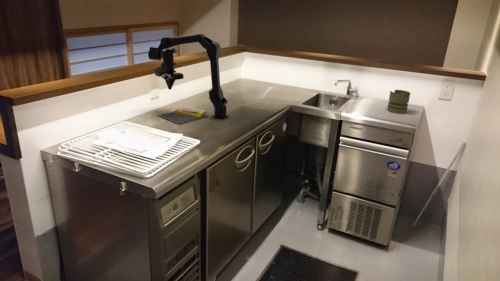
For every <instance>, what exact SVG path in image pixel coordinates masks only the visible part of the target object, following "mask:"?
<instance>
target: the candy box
mask: <svg viewBox="0 0 500 281" xmlns="http://www.w3.org/2000/svg"><path fill="white" fill-rule="evenodd" d="M173 112H174V113H176V114H181V115H185V116H190V117H195V118H199V117H201V116H203V115H207V111H206V110H205V109H204V110H203V109H198V108H192V107H188V106H187V107H186V106H180V107H178V108H176V109H175V110H174V111H173Z"/></svg>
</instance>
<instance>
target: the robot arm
mask: <svg viewBox="0 0 500 281" xmlns="http://www.w3.org/2000/svg"><path fill="white" fill-rule="evenodd" d="M192 43H198V44H200V45H201V47H202V48H203V49H205V51H206V54H207V57H208V60H209V65H210V79H211V89H210V90H209V91H208V95H209V97H208V99H209V100H210V102H211V104H212V105H213V109H214V110H213V114H214V115H212V117H213V118H215V119H219V120H222V119H226V118H228V117H229V115H227V106H226V105H228V100H227V99H226V98H225V96H224V92H223V89H222V87H221V80H220V79H221V78H220V76H221V75H220V65H219V62H220V61H219V59H220V55H221V45H220V43H219V42H217V41H213V40H212V39H211V38H209V37H207V36H206V35H205V34H203V33H198V34H192V35H186V36H166V37H165V36H163V37H162V38H161V39H160V42H159V45H158V46H155V47H154V46H150V47H149V49H148V53H147V55H148V59H149V60H151V61H161V60H162V62H161V64H160V66H158V67H156V68H155V69H153V72H154V76H155V77H159V78H160V77H161V79H163V80H164V81H165V84H166V86H167V89H168V90H172V89H173V86H174V84H175V82H176V81H177V80H183V79H185V78H184V77H185V76H184V74H183V73H181V72H177V71H176V70H175V66H176V62H175V60H174V58H175V57H174V54H176V53H178V50H177V49H175V48H174V47H176V46H179V45H186V44H192ZM171 48H172V49H171Z"/></svg>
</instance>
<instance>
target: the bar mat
mask: <svg viewBox="0 0 500 281" xmlns="http://www.w3.org/2000/svg"><path fill="white" fill-rule="evenodd" d="M156 115H157V117H159V118H161V119H164V120H166V121H168V122H171V123H173V124H175V125H178V126H179V125H182V124H183V125H184V124H186V123H191V122H195V121H198V120H201V119H202V120H203V119H205V118H209V115H208V114H205V115H203V116H201V117H199V118H195V117H190V116H185V115H181V114H176V113H174V111H171V112H165V113H161V114H156Z"/></svg>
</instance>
